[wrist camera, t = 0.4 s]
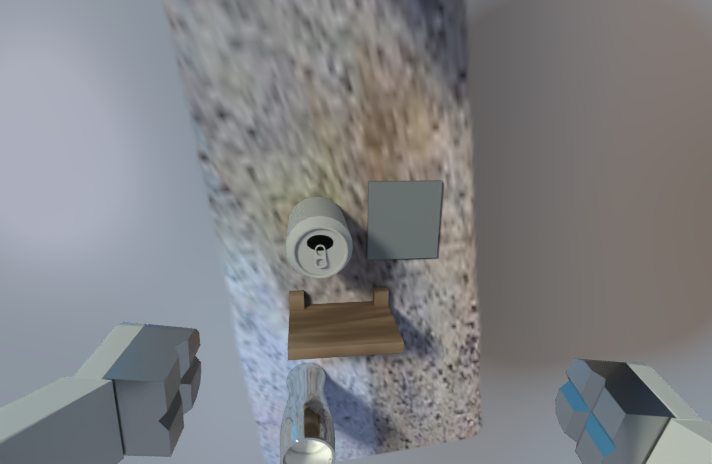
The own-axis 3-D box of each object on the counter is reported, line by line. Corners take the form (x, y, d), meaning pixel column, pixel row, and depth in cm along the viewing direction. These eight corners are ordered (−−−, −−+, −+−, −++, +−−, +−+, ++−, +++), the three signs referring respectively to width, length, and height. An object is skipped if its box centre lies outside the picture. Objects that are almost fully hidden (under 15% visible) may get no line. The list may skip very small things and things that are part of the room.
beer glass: (299, 405, 64) (299, 492, 50) (274, 375, 62) (266, 456, 48) (337, 383, 64) (348, 464, 50) (313, 352, 62) (317, 427, 48)
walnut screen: (289, 291, 58) (286, 332, 48) (386, 286, 60) (404, 325, 50) (291, 328, 60) (288, 376, 50) (385, 323, 62) (402, 368, 51)
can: (345, 195, 55) (356, 220, 44) (343, 248, 57) (353, 284, 46) (288, 194, 54) (284, 219, 43) (288, 248, 56) (285, 285, 45)
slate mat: (368, 181, 55) (369, 182, 54) (441, 180, 56) (442, 181, 56) (366, 258, 58) (367, 260, 58) (435, 255, 59) (436, 257, 59)
